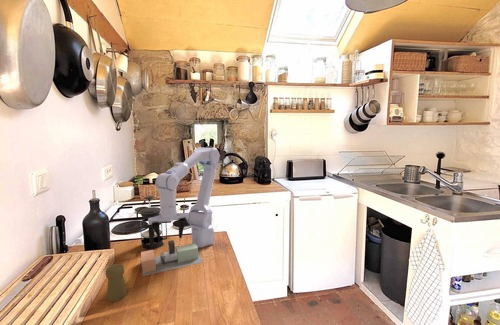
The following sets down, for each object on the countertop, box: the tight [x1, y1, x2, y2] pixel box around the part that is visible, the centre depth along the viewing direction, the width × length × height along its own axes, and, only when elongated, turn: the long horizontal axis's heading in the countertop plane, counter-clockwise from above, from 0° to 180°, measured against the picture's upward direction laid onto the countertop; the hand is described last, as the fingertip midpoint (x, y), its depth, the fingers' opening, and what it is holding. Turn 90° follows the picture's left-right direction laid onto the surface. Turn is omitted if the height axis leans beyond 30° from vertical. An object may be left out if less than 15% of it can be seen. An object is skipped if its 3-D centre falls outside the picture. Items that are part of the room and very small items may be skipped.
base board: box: [140, 252, 204, 277], centre depth 106 cm, size 22×12×1 cm, turn 115°
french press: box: [138, 195, 168, 251], centre depth 118 cm, size 12×9×23 cm
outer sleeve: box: [175, 243, 199, 262], centre depth 108 cm, size 8×4×4 cm, turn 115°
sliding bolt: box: [159, 239, 178, 263], centre depth 106 cm, size 14×3×7 cm, turn 115°
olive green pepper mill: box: [105, 263, 128, 303], centre depth 85 cm, size 6×6×11 cm
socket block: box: [140, 249, 156, 273], centre depth 102 cm, size 4×8×4 cm, turn 25°
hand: (170, 238), depth 104 cm, fingers open, 7 cm apart
